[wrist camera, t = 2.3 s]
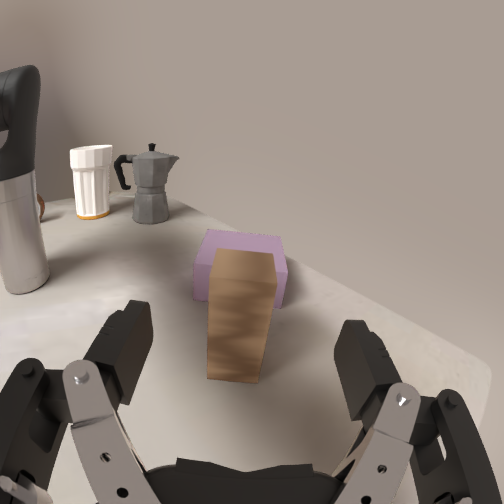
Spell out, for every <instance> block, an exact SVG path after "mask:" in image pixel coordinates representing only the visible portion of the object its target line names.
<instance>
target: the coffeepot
mask: <svg viewBox="0 0 504 504" xmlns="http://www.w3.org/2000/svg"><path fill="white" fill-rule="evenodd" d="M155 145H156V144H153V143H151V144H149V151H148V152H145V153H142V154H139V155H120V156H119V157H118V159H117V160H116V161H115V162H114V168H115V170H116V173H117V176H118V179H119V182H120V185H121V187H122V189H123V190H129V189H130V188H131V186H128V185H126V184H125V177H124V175H123V170H122V167H121V163H132V164H133V173H134V180H135V184H136V185H137V193H136V194H135V201H134V208H133V215H132V219H133V220H134V221H135V222H137V223H141V224H157V223H161V222H164V221H166V220H167V219H168V216H169V211H168V204H167V198H166V192H165V191H164V190H165V184H166V183H167V177H168V173H169V171H170V169H171V168H172V166H173V165H174V163H175V162H176V161H177V160H178V159H179V157H177V156H174V155H169V154H164V153H160V152H156V151H154V149H155Z"/></svg>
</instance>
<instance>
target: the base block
mask: <svg viewBox="0 0 504 504" xmlns="http://www.w3.org/2000/svg"><path fill="white" fill-rule="evenodd" d="M217 248H223V249H233V250H243V251H253V252H263V253H273V256H274V263H275V269H276V276H277V283H278V284H277V289H276V295H275V300H274V305H273V308H278V309H281V306H282V301H283V296H284V291H285V286H286V282H287V277H288V269H287V265H286V260H285V255H284V251H283V246H282V242H281V237H280V236H271V235H261V234H252V233H242V232H233V231H223V230H213V229H208V230H207V232H206V235H205V237H204V239H203V242H202V244H201V246H200V249H199V251H198V253H197V256H196V258H195V261H194V264H193V300H198V301H207V302H208V298H209V276H210V272H211V268H212V265H213V261H214V257H215V253H216V250H217Z"/></svg>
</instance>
